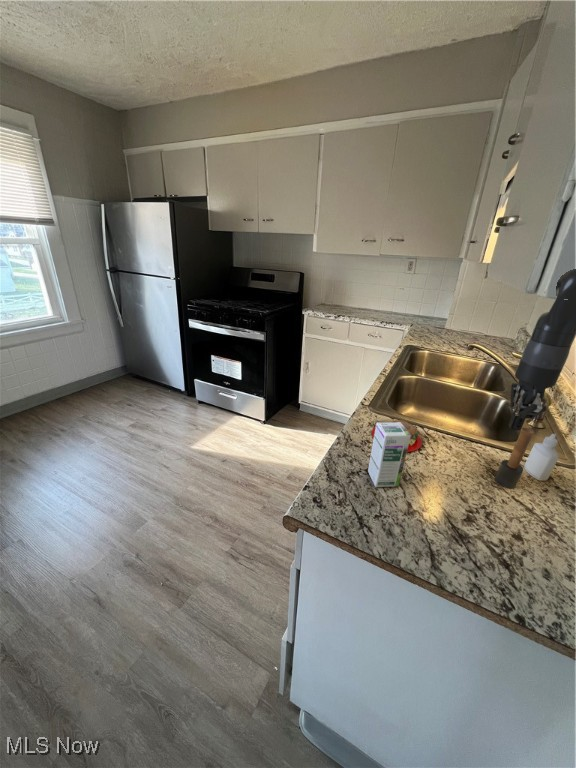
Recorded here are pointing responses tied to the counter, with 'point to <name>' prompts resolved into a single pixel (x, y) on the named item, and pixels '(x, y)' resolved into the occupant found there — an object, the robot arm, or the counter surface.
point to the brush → (514, 461)
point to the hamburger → (414, 437)
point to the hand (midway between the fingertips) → (514, 428)
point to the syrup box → (388, 454)
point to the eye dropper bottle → (542, 458)
